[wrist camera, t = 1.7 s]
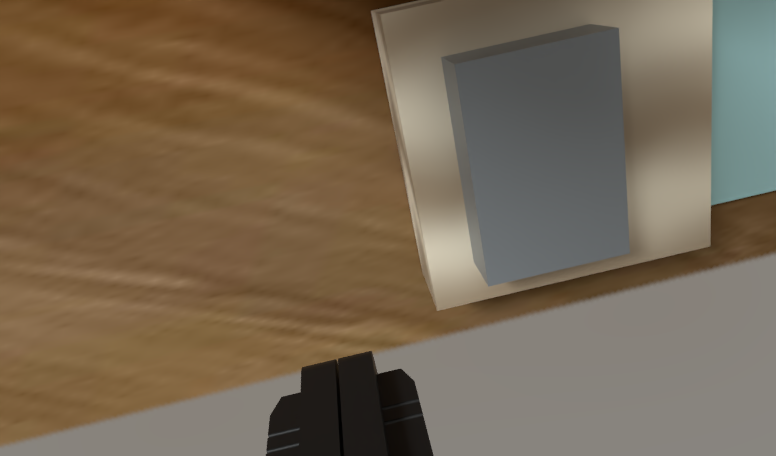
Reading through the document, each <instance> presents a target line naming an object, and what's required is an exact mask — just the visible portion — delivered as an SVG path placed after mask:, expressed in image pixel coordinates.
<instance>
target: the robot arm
mask: <svg viewBox="0 0 776 456" xmlns="http://www.w3.org/2000/svg"><path fill="white" fill-rule="evenodd" d="M268 436H269V438H268V441H267V454H266V456H433V452H432V449H431V445H430V440H429V437H428V433H427V429H426V425H425V421H424V417H423V413H422V409H421V405H420V402H419V398H418V394H417V390H416V386H415V382H414V381H413V379H411V378H410V377H409V376H408V375H407V374H406V373H405V372H404V371H403V370H402V369H397V370H393V371H388V372H384V373H380V374H378V373H377V369H376V366H375V361H374V357H373V354H372V351H369V352H365V353H360V354H356V355H352V356H348V357H343V358H339V359H338V363H337V360H336V359H335V360H331V361H327V362H323V363H318V364H314V365H310V366H306V367H302V371H301V393H296V394H292V395H288V396H284V397H281V399H280V401H279V402H278V404H277V405H276V407H275V409H274V410H273V412H272V414H271V415H270V421H269V432H268Z"/></svg>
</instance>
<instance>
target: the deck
mask: <svg viewBox="0 0 776 456" xmlns="http://www.w3.org/2000/svg"><path fill="white" fill-rule="evenodd" d="M371 15H372V20H373V25H374V30H375V35H376V40H377V45H378V50H379V55H380V60H381V65H382V70H383V75H384V80H385V85H386V90H387V95H388V100H389V105H390V110H391V115H392V120H393V126H394V131H395V136H396V141H397V146H398V151H399V156H400V161H401V166H402V171H403V176H404V181H405V186H406V191H407V196H408V201H409V206H410V211H411V216H412V221H413V226H414V231H415V237H416V242H417V247H418V252H419V257H420V262H421V267H422V272H423V275H424V277H425V280H426V283H427V285H428V288H429V290H430V293H431V295H432V298H433V301H434V303H435V306H436V308H437V311H439V310H443V309H447V308H451V307H456V306H460V305H464V304H468V303H473V302H477V301H481V300H485V299H489V298H494V297H498V296H502V295H506V294H511V293H515V292H519V291H523V290H528V289H532V288H536V287H540V286H545V285H549V284H553V283H557V282H562V281H566V280H570V279H574V278H579V277H583V276H587V275H591V274H595V273H600V272H604V271H608V270H612V269H617V268H621V267H625V266H629V265H634V264H638V263H642V262H646V261H651V260H655V259H659V258H663V257H668V256H672V255H676V254H680V253H684V252H689V251H693V250H697V249H701V248H706V247H710V246H711V133H712V16H713V0H418V1H413V2H408V3H404V4H399V5H395V6H390V7H386V8H381V9H376V10H372V11H371ZM588 24H594V25H602V26H609V27H617V28H619V39H620V60H621V81H622V101H623V122H624V142H625V163H626V184H627V204H628V225H629V245H630V253H629V254H625V255H621V256H617V257H612V258H608V259H604V260H600V261H595V262H591V263H587V264H583V265H578V266H574V267H570V268H566V269H561V270H557V271H553V272H549V273H544V274H540V275H536V276H532V277H527V278H523V279H519V280H515V281H510V282H506V283H502V284H498V285H493V286H489V287H488V285H487V284H486V282H485V280H484V278H483V277H482V275H481V273H480V272H479V270H478V268H477V267H476V265H475V263H474V260H473V254H472V247H471V241H470V235H469V229H468V222H467V216H466V210H465V204H464V197H463V191H462V185H461V179H460V173H459V166H458V160H457V154H456V148H455V141H454V135H453V129H452V123H451V116H450V110H449V104H448V98H447V91H446V85H445V79H444V73H443V66H442V60H441V57H444V56H448V55H453V54H457V53H462V52H466V51H471V50H475V49H480V48H484V47H489V46H493V45H498V44H502V43H507V42H511V41H516V40H520V39H525V38H529V37H534V36H538V35H543V34H547V33H552V32H556V31H561V30H565V29H570V28H574V27H579V26H583V25H588Z"/></svg>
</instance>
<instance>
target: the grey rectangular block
mask: <svg viewBox="0 0 776 456" xmlns="http://www.w3.org/2000/svg"><path fill="white" fill-rule="evenodd" d="M441 60H442V66H443V73H444V79H445V85H446V91H447V98H448V104H449V110H450V116H451V123H452V129H453V135H454V141H455V148H456V154H457V160H458V166H459V173H460V179H461V185H462V191H463V197H464V204H465V210H466V216H467V222H468V229H469V235H470V241H471V247H472V254H473V260H474V263H475V265H476V267H477V268H478V270H479V272H480V273H481V275H482V277H483V278H484V280H485V282H486V284H487V285H488V287H489V286H493V285H498V284H502V283H506V282H510V281H515V280H519V279H523V278H527V277H532V276H536V275H540V274H544V273H549V272H553V271H557V270H561V269H566V268H570V267H574V266H578V265H583V264H587V263H591V262H595V261H600V260H604V259H608V258H612V257H617V256H621V255H625V254H629V253H630V245H629V225H628V204H627V184H626V163H625V142H624V122H623V101H622V81H621V60H620V39H619V28H617V27H609V26H602V25H594V24H588V25H583V26H579V27H574V28H570V29H565V30H561V31H556V32H552V33H547V34H543V35H538V36H534V37H529V38H525V39H520V40H516V41H511V42H507V43H502V44H498V45H493V46H489V47H484V48H480V49H475V50H471V51H466V52H462V53H457V54H453V55H448V56H444V57H441Z"/></svg>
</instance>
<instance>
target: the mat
mask: <svg viewBox="0 0 776 456" xmlns="http://www.w3.org/2000/svg"><path fill="white" fill-rule="evenodd" d="M775 190H776V0H713V16H712V133H711V205H715V204H719V203H724V202H728V201H732V200H736V199H741V198H745V197H749V196H754V195H758V194H762V193H766V192H771V191H775Z"/></svg>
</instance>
